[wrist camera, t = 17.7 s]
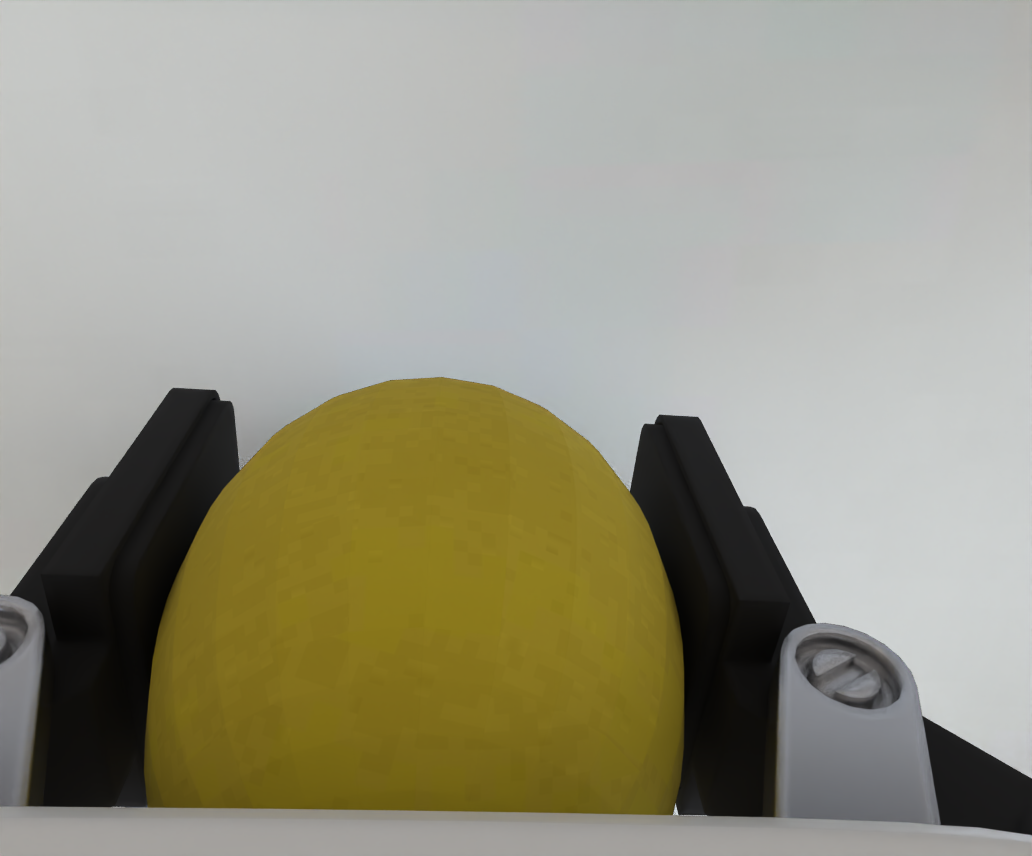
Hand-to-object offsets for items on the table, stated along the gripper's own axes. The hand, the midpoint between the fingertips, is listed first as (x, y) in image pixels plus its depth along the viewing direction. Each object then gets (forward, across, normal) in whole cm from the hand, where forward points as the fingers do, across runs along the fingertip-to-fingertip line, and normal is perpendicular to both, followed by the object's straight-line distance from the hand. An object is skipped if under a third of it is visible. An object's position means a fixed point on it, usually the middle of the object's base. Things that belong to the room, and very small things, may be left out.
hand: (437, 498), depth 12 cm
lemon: (+1, 0, 0) cm, 1 cm away
